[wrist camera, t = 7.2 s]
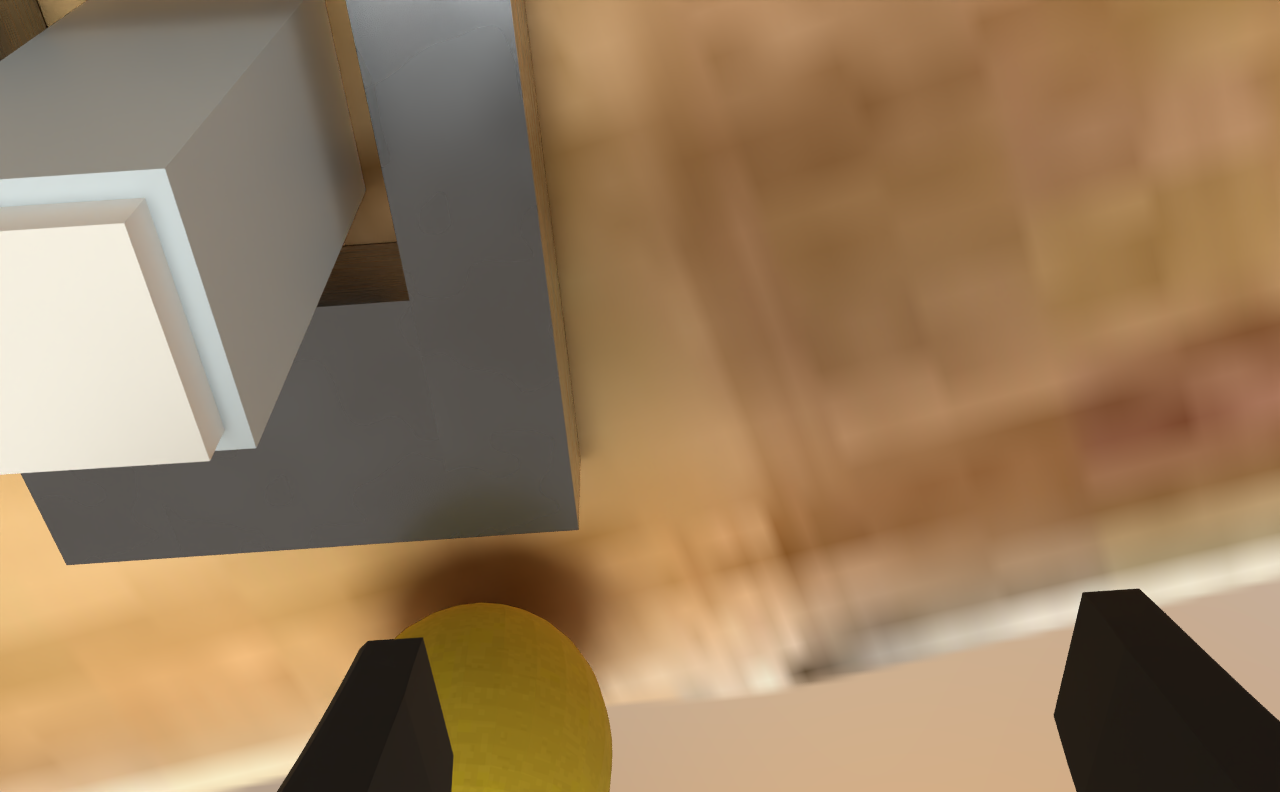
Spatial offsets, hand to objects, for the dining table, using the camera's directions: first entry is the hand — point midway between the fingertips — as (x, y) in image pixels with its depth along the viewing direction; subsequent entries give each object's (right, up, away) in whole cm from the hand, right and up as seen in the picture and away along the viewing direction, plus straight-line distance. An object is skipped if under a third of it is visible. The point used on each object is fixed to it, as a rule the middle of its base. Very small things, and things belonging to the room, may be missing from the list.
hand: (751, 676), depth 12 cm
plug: (-8, +8, +6) cm, 13 cm away
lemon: (-5, -2, +13) cm, 14 cm away
